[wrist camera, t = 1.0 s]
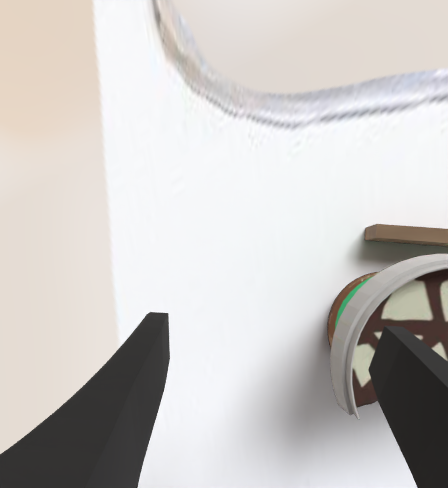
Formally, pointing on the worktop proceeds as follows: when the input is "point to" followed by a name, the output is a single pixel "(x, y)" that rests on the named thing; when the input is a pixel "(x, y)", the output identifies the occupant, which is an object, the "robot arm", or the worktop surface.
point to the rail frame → (407, 234)
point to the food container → (385, 321)
